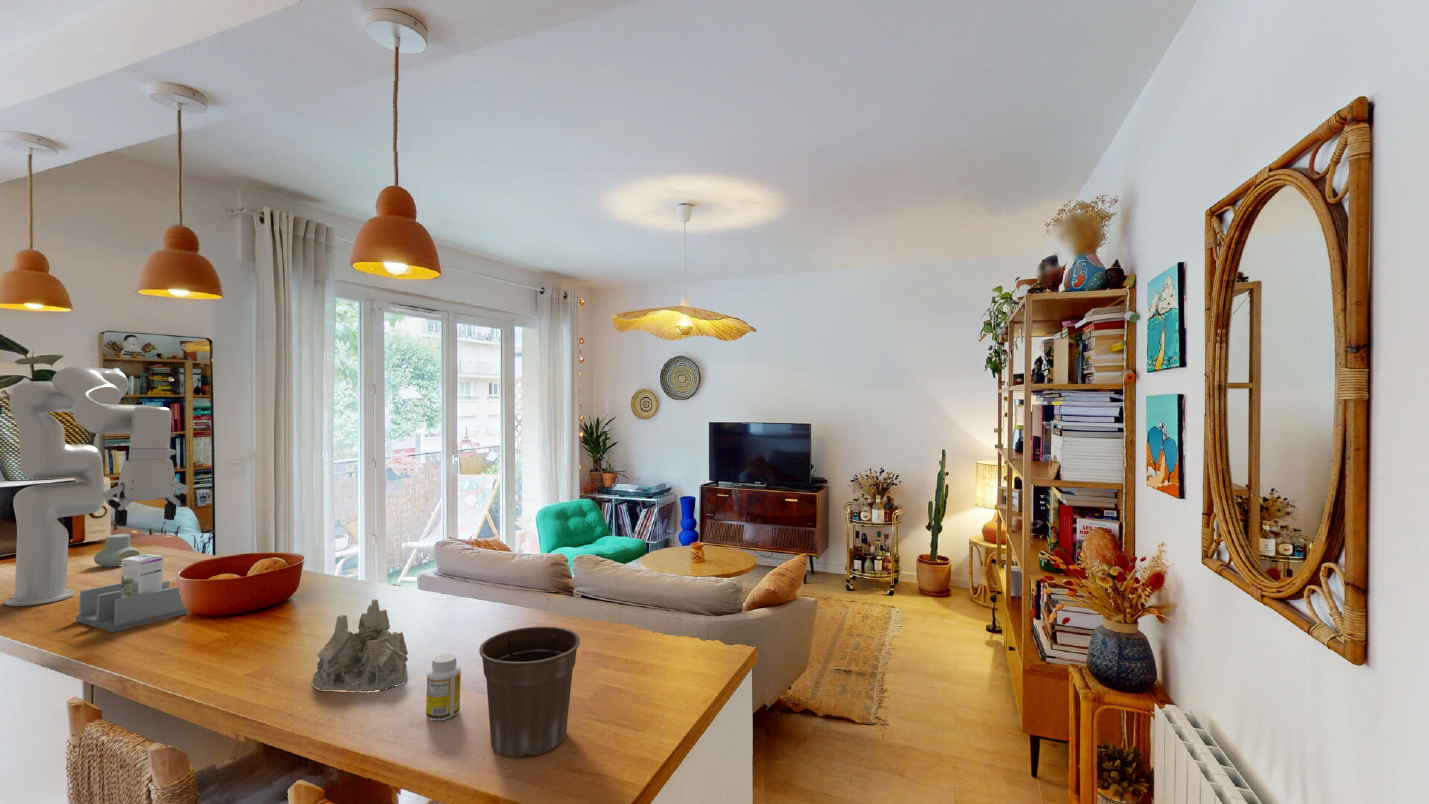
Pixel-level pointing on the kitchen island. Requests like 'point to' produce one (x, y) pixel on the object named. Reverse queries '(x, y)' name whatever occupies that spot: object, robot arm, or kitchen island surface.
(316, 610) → the kitchen island surface
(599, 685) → the kitchen island surface
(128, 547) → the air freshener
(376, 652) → the ceramic cottage
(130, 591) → the syrup box
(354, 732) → the kitchen island surface
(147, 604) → the slot rack
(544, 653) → the plant pot
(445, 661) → the supplement bottle
